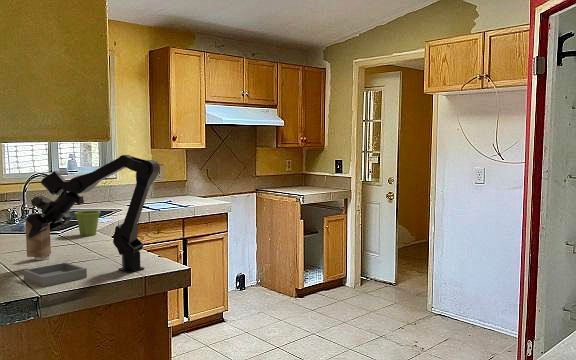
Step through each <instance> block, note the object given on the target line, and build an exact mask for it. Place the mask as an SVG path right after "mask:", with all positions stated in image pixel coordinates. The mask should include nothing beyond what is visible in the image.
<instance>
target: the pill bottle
mask: <svg viewBox="0 0 576 360" xmlns="http://www.w3.org/2000/svg"><path fill="white" fill-rule="evenodd" d="M50 255H51V254H49V255H46V256H44V257H33V258H34V260H35V261H45V260H49V259H50Z"/></svg>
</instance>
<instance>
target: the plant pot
mask: <svg viewBox="0 0 576 360" xmlns="http://www.w3.org/2000/svg"><path fill="white" fill-rule="evenodd" d="M100 214H101V211H100V210H80V211H75V212H74V215H75V217H76V220H77V225H78V231H79V235H80V236H82V237H83V236H86V237H89V236H90V237H92V236H95V235H97V230H98V223H99V218H100Z"/></svg>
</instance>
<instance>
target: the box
mask: <svg viewBox="0 0 576 360" xmlns="http://www.w3.org/2000/svg"><path fill="white" fill-rule="evenodd" d="M87 271H88V270H87V268H86V267H83V266H79V265H77V264H73V263H70V262H67V261H66V262H61V263H55V264H49V265H44V266H39V267H33V268H28V269H23V280H25V281H27V282H30V283H33V284H35V285H38V286H40V287H42V288H45V287H49V286H55V285H58V284H64V283H68V281H69V282H71V281H77V279H78V280H81V279H86V278H87V277H88V273H87Z"/></svg>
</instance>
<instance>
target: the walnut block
mask: <svg viewBox="0 0 576 360" xmlns="http://www.w3.org/2000/svg"><path fill="white" fill-rule="evenodd" d="M24 221H25V237H26V238H25V241H26V242H25V246H26V257H27V258H34V257H44V256H46V255H49V254H50V255H51V254H52V246H51V242H52V241H51V230H50V223H48V227H47V228H46V229H47V230H45V231H43V232H41V233H39V234H37V235H35V236H33V237H31V238H30V237H29V236H28V235H29V233H30V230H31V228H32V225H31V224H30V223H29V222H28V221H27V220H26V219H25V220H24Z"/></svg>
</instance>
